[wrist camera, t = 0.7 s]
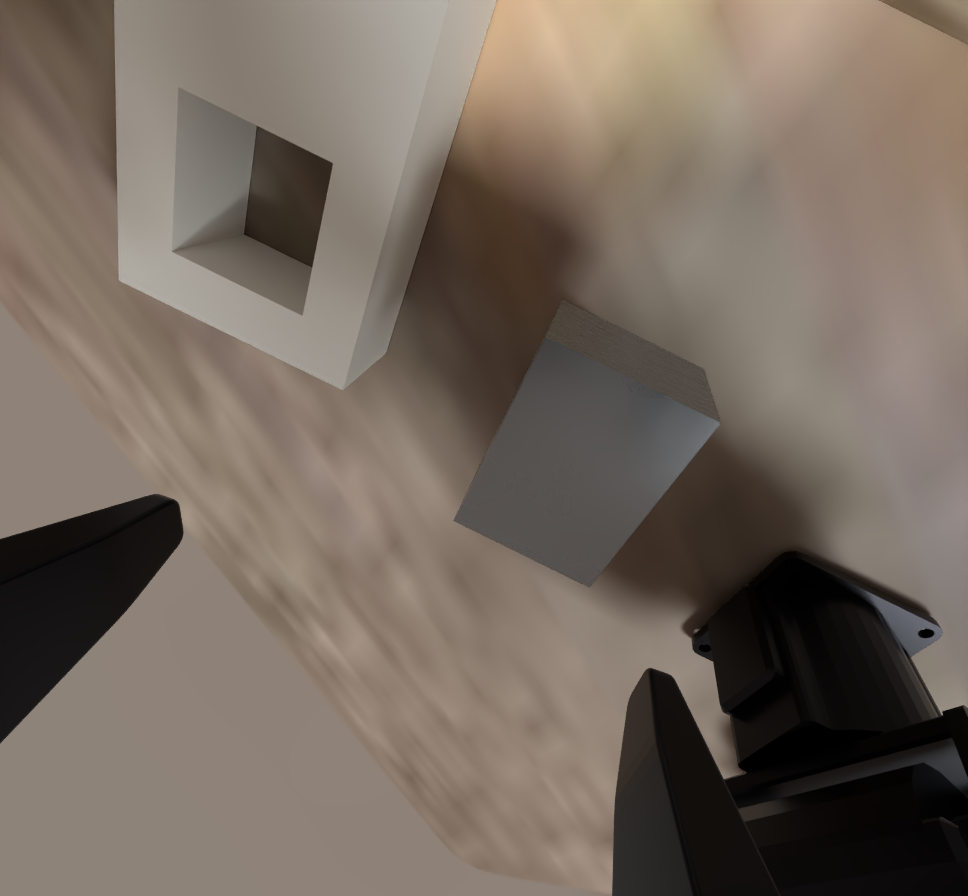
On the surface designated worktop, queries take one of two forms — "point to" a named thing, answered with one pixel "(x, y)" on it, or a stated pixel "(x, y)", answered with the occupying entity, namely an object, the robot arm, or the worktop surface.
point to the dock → (306, 123)
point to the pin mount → (938, 14)
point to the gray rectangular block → (588, 445)
